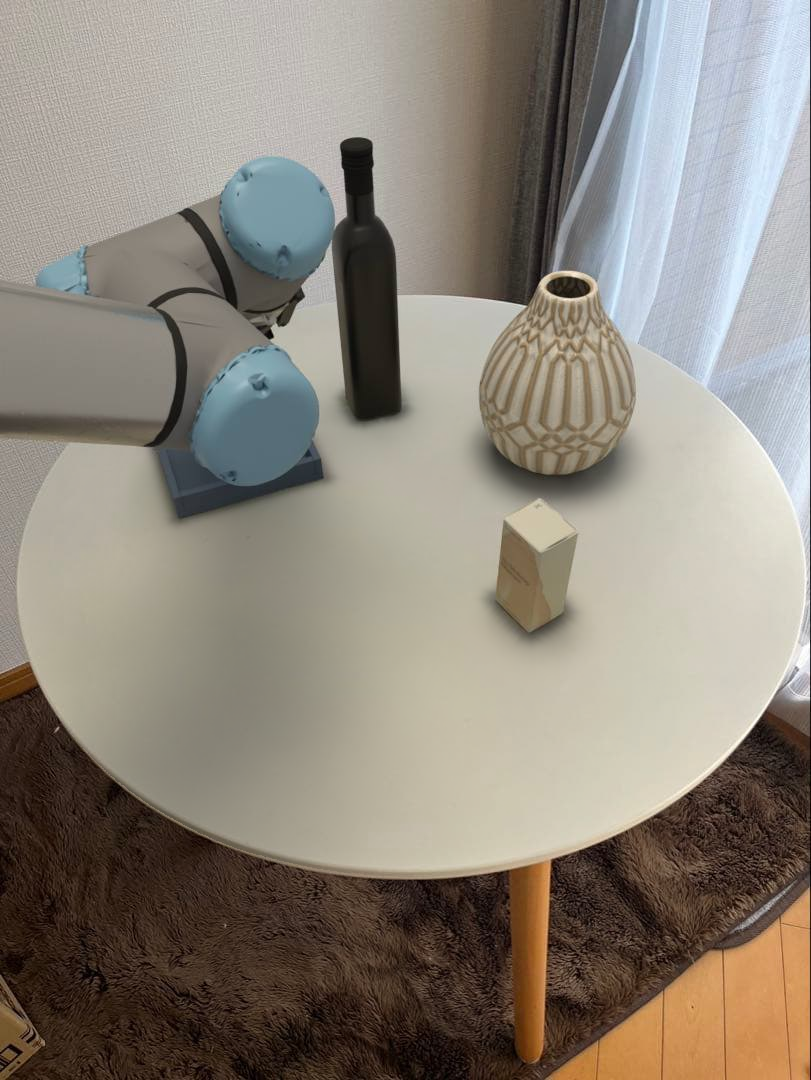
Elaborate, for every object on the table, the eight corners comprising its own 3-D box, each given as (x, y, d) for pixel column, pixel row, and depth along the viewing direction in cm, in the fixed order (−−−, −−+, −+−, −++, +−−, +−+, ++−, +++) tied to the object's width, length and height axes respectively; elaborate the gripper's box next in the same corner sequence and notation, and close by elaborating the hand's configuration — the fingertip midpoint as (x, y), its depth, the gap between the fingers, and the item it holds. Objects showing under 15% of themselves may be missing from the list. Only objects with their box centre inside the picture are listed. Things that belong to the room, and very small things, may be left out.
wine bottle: (389, 384, 106) (376, 126, 85) (404, 413, 103) (395, 150, 81) (343, 395, 105) (318, 135, 84) (356, 424, 102) (334, 160, 80)
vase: (558, 386, 105) (577, 226, 91) (655, 460, 96) (694, 294, 81) (447, 437, 100) (448, 274, 85) (539, 521, 90) (558, 354, 76)
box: (493, 599, 83) (499, 515, 75) (529, 578, 85) (539, 494, 77) (530, 636, 80) (540, 552, 72) (566, 614, 82) (580, 529, 74)
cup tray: (178, 518, 92) (172, 498, 90) (151, 428, 102) (145, 409, 100) (323, 478, 96) (321, 458, 93) (283, 395, 106) (280, 375, 104)
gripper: (141, 369, 68) (125, 423, 90) (371, 290, 75) (305, 357, 97) (100, 276, 68) (94, 353, 89) (336, 205, 75) (277, 291, 96)
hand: (204, 355), depth 93 cm, fingers closed on cup, 7 cm apart
